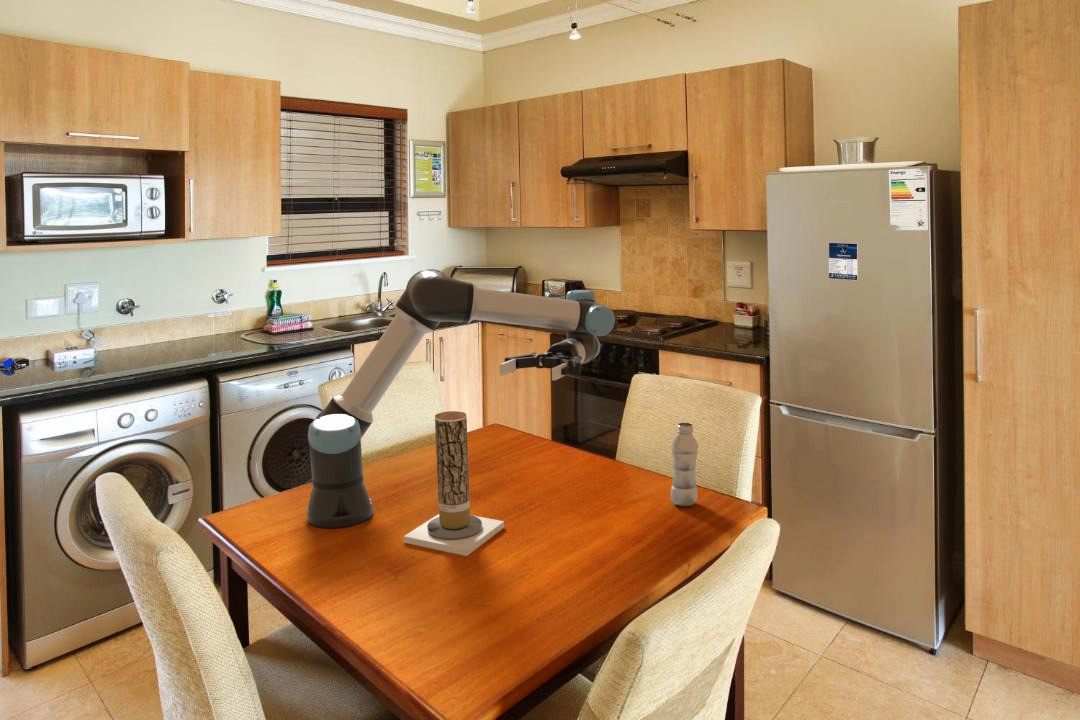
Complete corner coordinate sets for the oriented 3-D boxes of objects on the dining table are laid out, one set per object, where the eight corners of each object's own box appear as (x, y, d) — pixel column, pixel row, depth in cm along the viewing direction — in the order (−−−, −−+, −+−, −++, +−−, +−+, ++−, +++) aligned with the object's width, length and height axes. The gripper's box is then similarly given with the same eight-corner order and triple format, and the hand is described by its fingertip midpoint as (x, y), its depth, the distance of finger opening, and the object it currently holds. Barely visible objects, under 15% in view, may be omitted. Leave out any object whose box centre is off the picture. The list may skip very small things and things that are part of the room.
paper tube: (465, 531, 165) (461, 420, 160) (435, 529, 166) (430, 418, 162) (474, 519, 172) (470, 411, 167) (445, 517, 173) (440, 410, 168)
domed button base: (404, 542, 166) (403, 531, 166) (445, 516, 180) (444, 506, 180) (466, 556, 159) (466, 545, 158) (504, 527, 173) (503, 517, 172)
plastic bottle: (700, 501, 186) (702, 422, 182) (693, 511, 180) (695, 429, 176) (674, 497, 189) (675, 419, 185) (666, 507, 183) (668, 426, 179)
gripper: (611, 374, 189) (576, 392, 171) (522, 366, 200) (480, 383, 182) (611, 344, 188) (576, 360, 169) (521, 338, 199) (479, 352, 180)
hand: (526, 372), depth 175 cm, fingers open, 13 cm apart
